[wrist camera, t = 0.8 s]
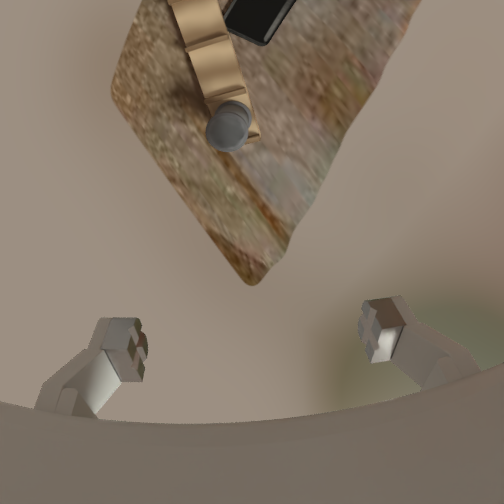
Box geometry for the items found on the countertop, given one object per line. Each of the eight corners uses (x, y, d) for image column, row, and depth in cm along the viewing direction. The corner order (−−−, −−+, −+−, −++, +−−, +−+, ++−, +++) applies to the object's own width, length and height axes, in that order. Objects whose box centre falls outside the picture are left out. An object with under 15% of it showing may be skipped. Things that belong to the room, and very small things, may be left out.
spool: (209, 106, 45) (199, 119, 40) (245, 96, 44) (241, 108, 39) (221, 138, 49) (213, 156, 44) (256, 130, 48) (253, 146, 42)
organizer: (172, 1, 35) (167, 0, 33) (213, -13, 34) (209, -15, 32) (223, 144, 51) (221, 150, 49) (261, 135, 50) (260, 140, 48)
